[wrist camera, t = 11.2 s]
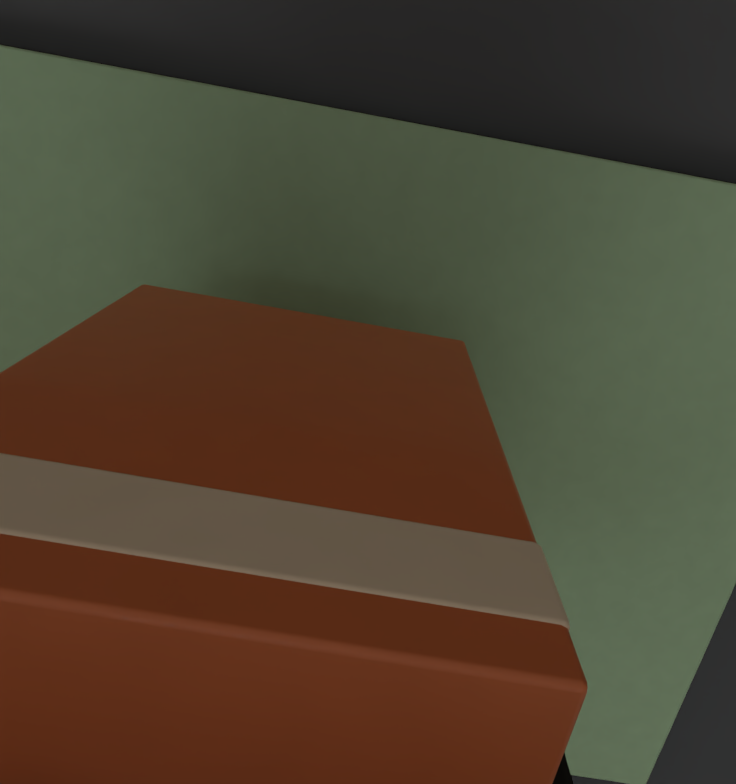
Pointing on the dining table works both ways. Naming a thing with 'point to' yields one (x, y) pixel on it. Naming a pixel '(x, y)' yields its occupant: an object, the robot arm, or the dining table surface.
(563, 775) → the robot arm
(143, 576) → the block
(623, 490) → the mat
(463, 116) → the dining table surface
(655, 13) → the dining table surface
